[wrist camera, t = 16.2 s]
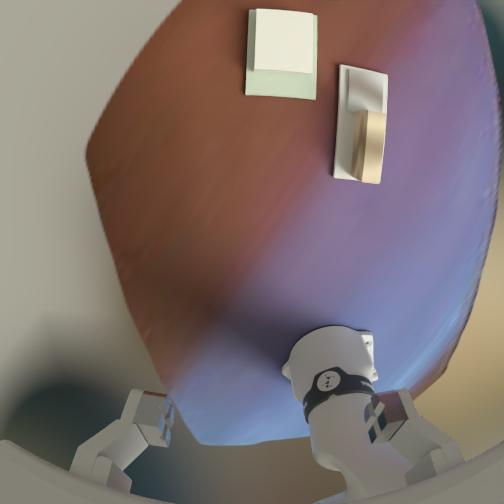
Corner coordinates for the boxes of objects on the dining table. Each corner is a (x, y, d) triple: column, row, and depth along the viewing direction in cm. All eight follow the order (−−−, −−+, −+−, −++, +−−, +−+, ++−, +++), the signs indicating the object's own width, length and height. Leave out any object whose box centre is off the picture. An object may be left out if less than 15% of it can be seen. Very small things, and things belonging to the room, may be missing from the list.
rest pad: (378, 182, 36) (379, 183, 36) (332, 177, 36) (334, 177, 36) (385, 75, 30) (387, 75, 29) (339, 65, 30) (340, 64, 29)
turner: (374, 178, 36) (387, 185, 32) (341, 174, 36) (352, 180, 32) (381, 77, 29) (395, 73, 25) (348, 70, 29) (359, 63, 25)
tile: (312, 73, 28) (313, 13, 24) (254, 69, 28) (256, 8, 24) (308, 76, 30) (309, 19, 26) (254, 72, 30) (256, 15, 26)
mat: (315, 99, 32) (315, 99, 32) (245, 94, 32) (245, 94, 31) (316, 16, 26) (317, 15, 26) (249, 10, 26) (249, 9, 26)
